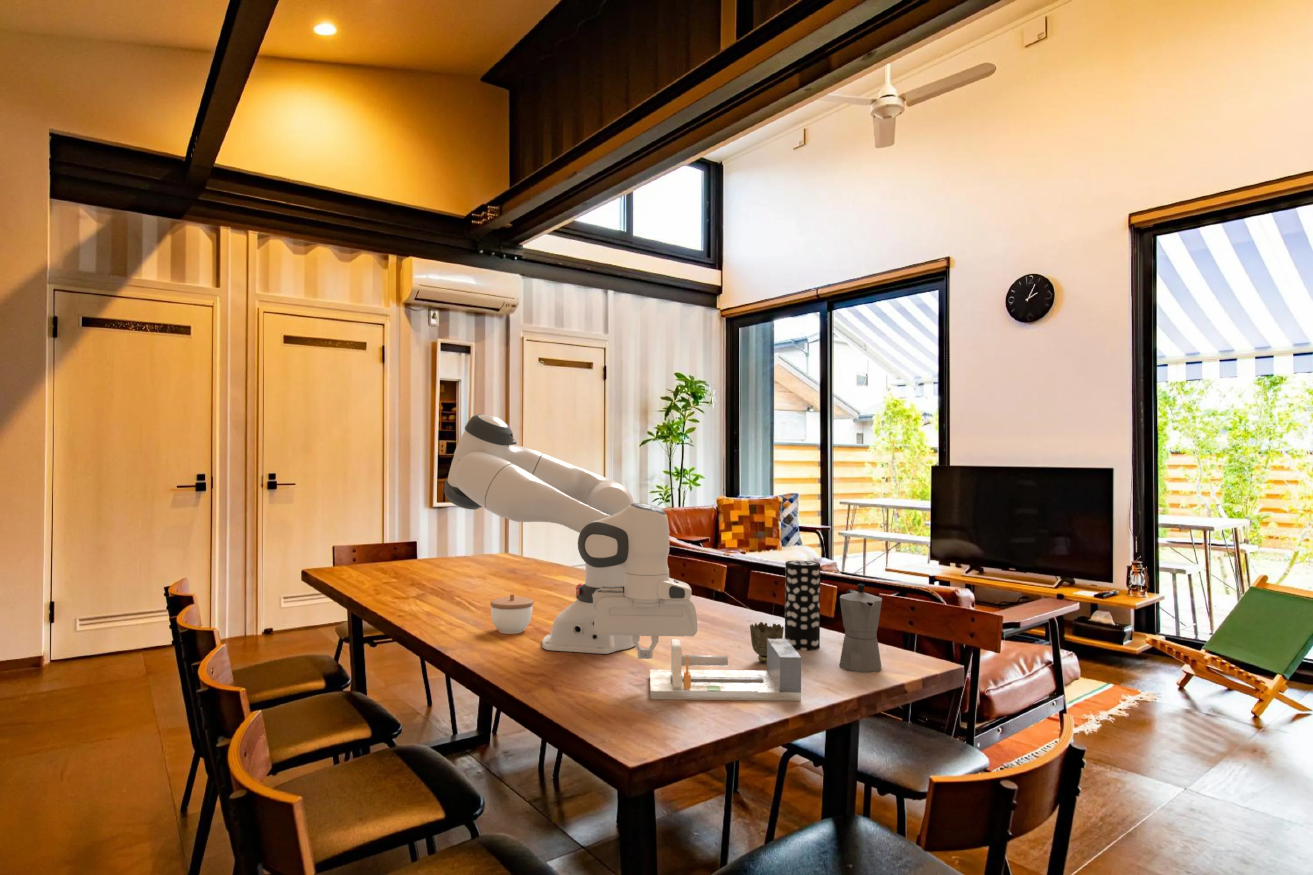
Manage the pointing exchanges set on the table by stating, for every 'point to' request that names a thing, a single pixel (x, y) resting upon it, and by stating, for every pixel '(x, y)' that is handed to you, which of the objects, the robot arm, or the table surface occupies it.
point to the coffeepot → (860, 631)
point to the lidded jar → (511, 613)
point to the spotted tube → (802, 604)
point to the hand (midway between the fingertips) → (645, 658)
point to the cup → (764, 638)
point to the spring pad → (690, 661)
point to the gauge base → (738, 680)
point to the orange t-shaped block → (687, 675)
